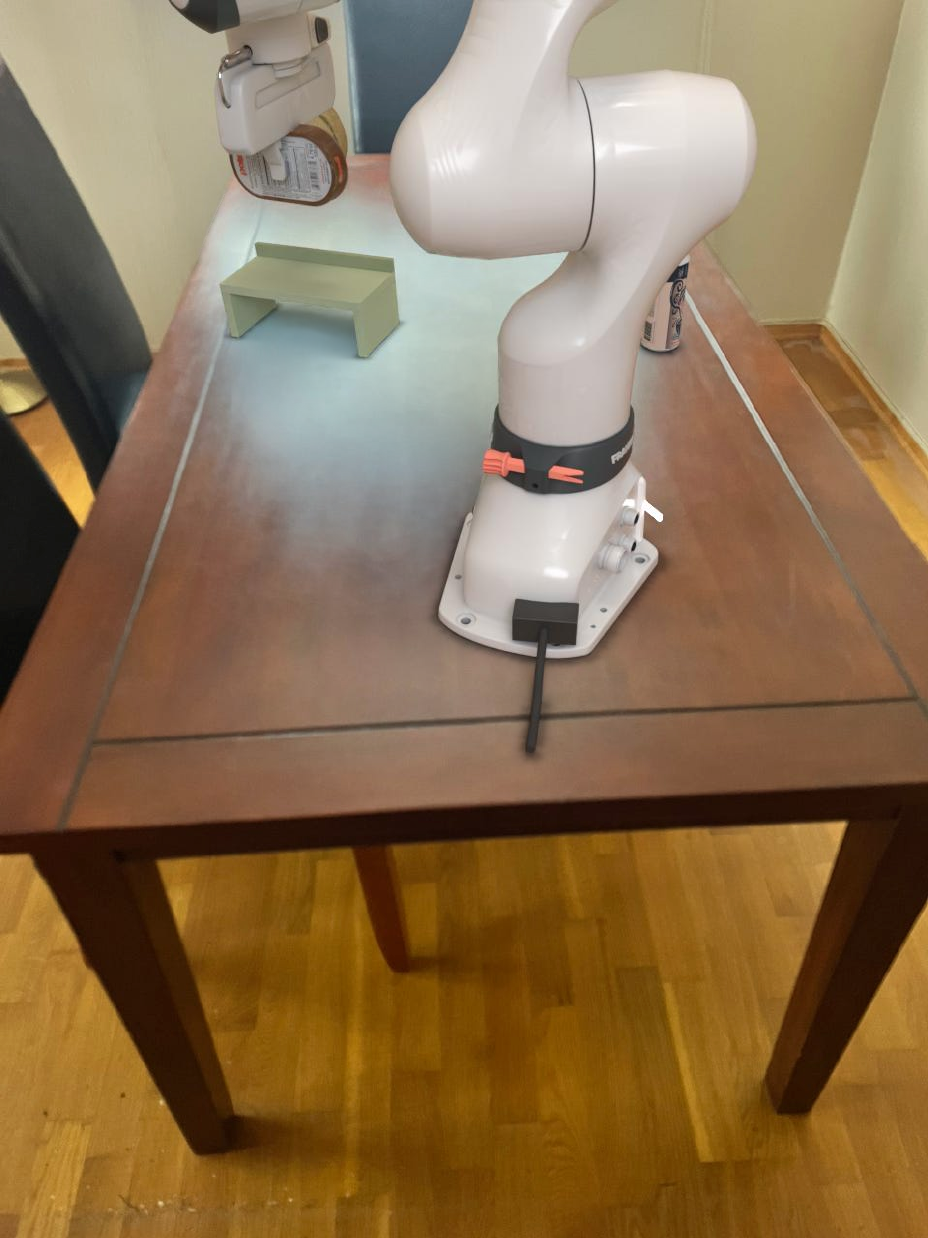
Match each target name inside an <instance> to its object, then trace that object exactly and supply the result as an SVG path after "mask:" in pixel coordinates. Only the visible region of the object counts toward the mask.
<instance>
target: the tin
mask: <svg viewBox="0 0 928 1238" xmlns="http://www.w3.org/2000/svg"><path fill="white" fill-rule="evenodd" d="M281 144H282V148H281V149H279V150H280V152H281V154H282V157H283V159H284V161H289V170H290V173H291V174H290V176H289V177H288V178H286V179H285V180H283V181H279V180H274V179H272V177H271V173H270V167H269V164H268V162H267V161H266V159H265V158H264V156H263V154H262V153H261V151H259V152H258V153H256V154H254V155H252V156H243V155H233V154H229V153H228V157H229V163H230V166H231V170H232V173H233V175H234V177H235V179H236V180H237V182H238V183H239V184H240V185H241V187H242V188H243V189H244V190H245V191H247V193H249V194H250V195H252V196H253V197H255V198H258V199H261V200H266V201H273V202H280V203H287V204H294V205H300V206H301V205H302V206H308V207H322V206H324V205H327V204H329V203H331V202H332V201H334V200H336V199H338V198H339V197H340V196H341V195H342V193H343V192H344V190H345V189H346V186H347V183H348V178H349V169H348V162H347V157H346V158H345V155H344V153H343V151H342V149H341V147H340V145H339V144H338V142H337V141H336V140H335V139H334V138H333V136H332V135H330V134H329V133H328V132H327V131H325V130H324V129H322V128H320V127H317V126H314V125H306V124H299V126H298V127H296V128H295V129H293V130H291V131H290V132H289V134H288V135H286V136H284V137H283V138H281Z"/></svg>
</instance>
